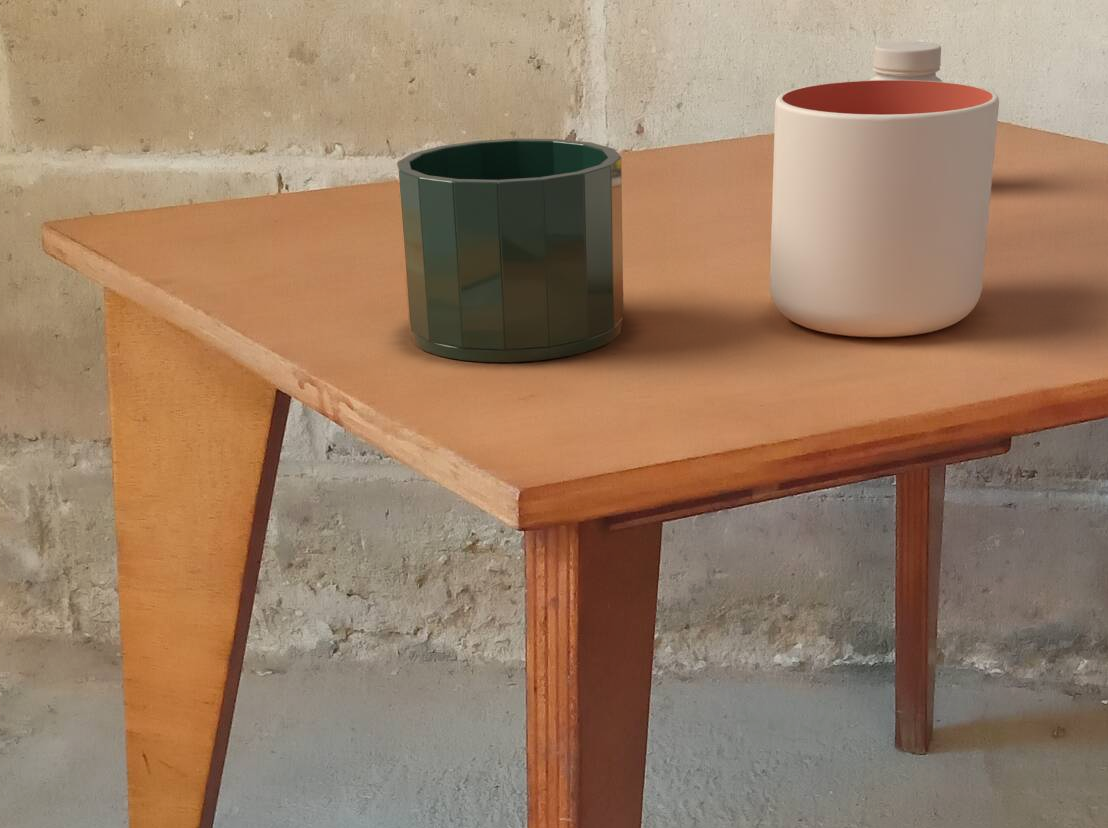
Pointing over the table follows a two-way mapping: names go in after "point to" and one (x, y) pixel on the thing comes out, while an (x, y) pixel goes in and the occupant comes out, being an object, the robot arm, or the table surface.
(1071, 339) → the table surface
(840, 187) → the cup
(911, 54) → the supplement bottle
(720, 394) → the table surface
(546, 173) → the green cup
